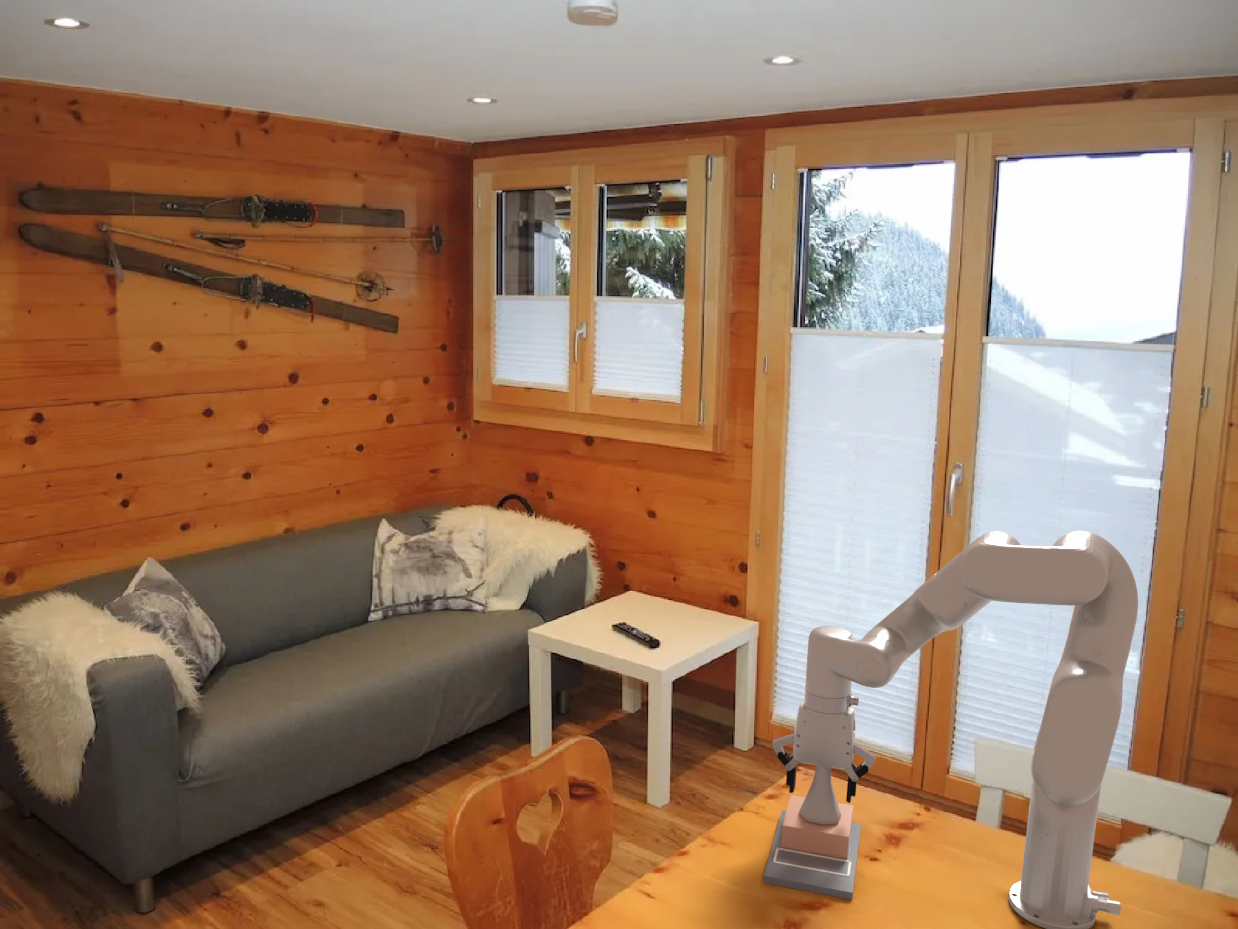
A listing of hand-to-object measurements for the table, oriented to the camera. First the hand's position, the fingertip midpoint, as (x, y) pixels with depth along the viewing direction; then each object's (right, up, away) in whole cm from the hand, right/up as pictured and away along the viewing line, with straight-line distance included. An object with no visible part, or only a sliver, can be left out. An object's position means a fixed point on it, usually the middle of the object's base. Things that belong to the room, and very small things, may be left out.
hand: (820, 794), depth 174 cm
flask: (0, -4, +1) cm, 4 cm away
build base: (-1, -10, -2) cm, 10 cm away
